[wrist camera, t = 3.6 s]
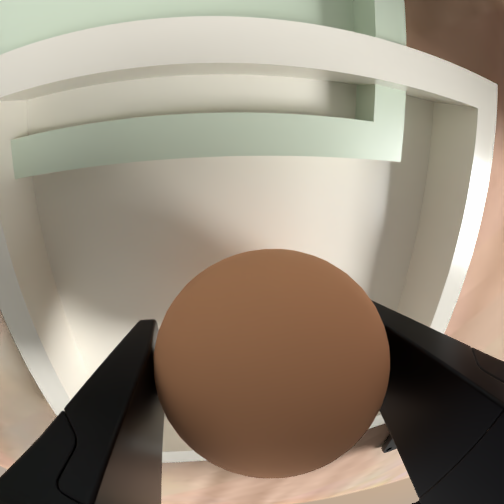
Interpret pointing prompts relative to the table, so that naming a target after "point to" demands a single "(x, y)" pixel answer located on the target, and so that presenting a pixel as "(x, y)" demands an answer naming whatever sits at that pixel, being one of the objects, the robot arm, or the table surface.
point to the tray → (220, 123)
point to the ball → (271, 363)
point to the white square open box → (227, 181)
